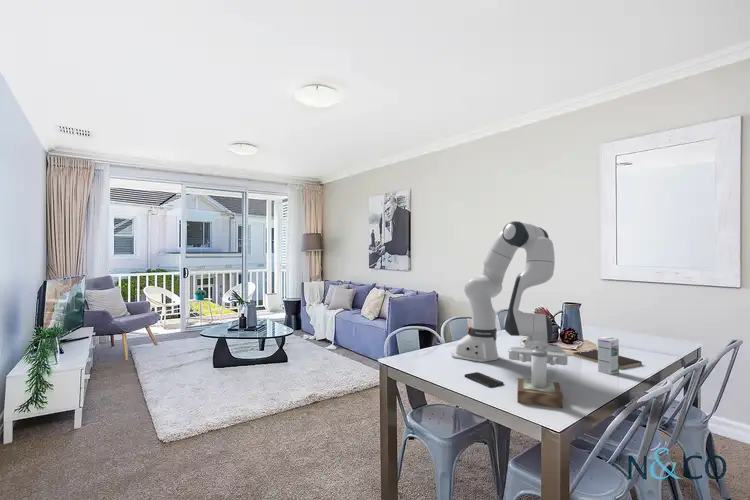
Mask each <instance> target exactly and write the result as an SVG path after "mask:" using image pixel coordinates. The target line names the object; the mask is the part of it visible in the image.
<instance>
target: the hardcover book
mask: <svg viewBox="0 0 750 500" xmlns="http://www.w3.org/2000/svg"><path fill="white" fill-rule="evenodd" d="M592 350H593V349H592ZM580 352H581V351H577V352H576V351H575V352H573V357H575V358H579V359H582V360H585V361H590V362H592V363H597V364H598V349H595V350H593V351H589V352H581V353H580ZM642 364H643V363H642V361H641V360H637V359H634V358H630V357H627V356H621V355H619V370H621V369H627V368H632V367H637V366H642Z"/></svg>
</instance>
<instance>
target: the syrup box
mask: <svg viewBox="0 0 750 500" xmlns="http://www.w3.org/2000/svg"><path fill="white" fill-rule="evenodd" d="M619 341H620V340H619V339H618V338H616V337H610V336H603V337H598V338H597V350H598V363H597V372H600V373H602V374H606V375H610V376H611V375H613V374H614V375H615V374H619V373H620V369H619V356H620V352H619V350H620V349H619V348H620V346H619V344H620V342H619Z"/></svg>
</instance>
